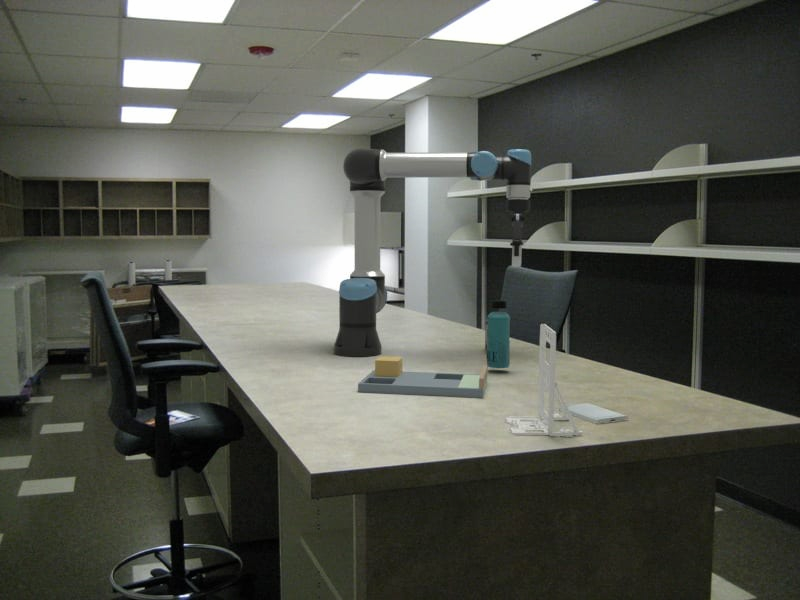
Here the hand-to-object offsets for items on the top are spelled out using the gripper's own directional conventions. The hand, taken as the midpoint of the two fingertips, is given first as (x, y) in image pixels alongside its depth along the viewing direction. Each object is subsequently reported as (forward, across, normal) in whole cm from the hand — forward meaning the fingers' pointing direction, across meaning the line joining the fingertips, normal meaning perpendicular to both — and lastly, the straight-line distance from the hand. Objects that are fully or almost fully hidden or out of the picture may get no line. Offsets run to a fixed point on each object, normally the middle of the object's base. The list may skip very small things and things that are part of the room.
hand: (516, 266), depth 239 cm
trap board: (+28, -60, +21) cm, 70 cm away
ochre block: (+26, -56, +31) cm, 69 cm away
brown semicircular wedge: (+28, 0, +6) cm, 29 cm away
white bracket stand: (+28, -93, -7) cm, 98 cm away
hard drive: (+29, -81, -18) cm, 88 cm away
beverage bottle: (+28, -35, +4) cm, 45 cm away
